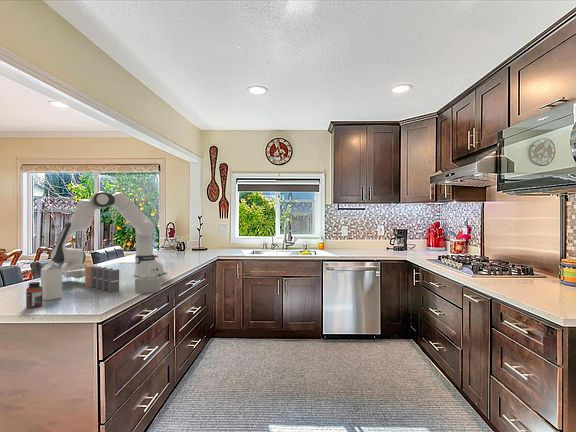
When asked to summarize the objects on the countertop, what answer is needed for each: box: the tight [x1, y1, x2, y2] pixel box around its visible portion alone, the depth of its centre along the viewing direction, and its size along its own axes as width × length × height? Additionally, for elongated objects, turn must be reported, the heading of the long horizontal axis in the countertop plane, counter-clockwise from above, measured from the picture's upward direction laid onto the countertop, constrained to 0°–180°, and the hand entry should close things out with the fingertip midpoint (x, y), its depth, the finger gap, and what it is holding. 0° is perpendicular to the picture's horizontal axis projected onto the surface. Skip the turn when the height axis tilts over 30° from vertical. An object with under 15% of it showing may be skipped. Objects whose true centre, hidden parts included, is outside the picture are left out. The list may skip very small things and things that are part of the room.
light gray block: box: [134, 274, 161, 294], centre depth 188 cm, size 10×13×9 cm
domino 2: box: [95, 267, 108, 291], centre depth 191 cm, size 2×5×12 cm, turn 146°
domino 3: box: [101, 268, 114, 292], centre depth 187 cm, size 2×5×12 cm, turn 146°
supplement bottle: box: [25, 281, 43, 309], centre depth 153 cm, size 6×6×11 cm
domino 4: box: [107, 269, 120, 294], centre depth 184 cm, size 2×5×12 cm, turn 146°
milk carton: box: [40, 260, 63, 302], centre depth 168 cm, size 7×7×19 cm
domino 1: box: [90, 265, 102, 289], centre depth 195 cm, size 2×5×12 cm, turn 146°
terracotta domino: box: [84, 264, 97, 288], centre depth 198 cm, size 2×5×12 cm, turn 147°
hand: (88, 273), depth 199 cm, fingers closed
